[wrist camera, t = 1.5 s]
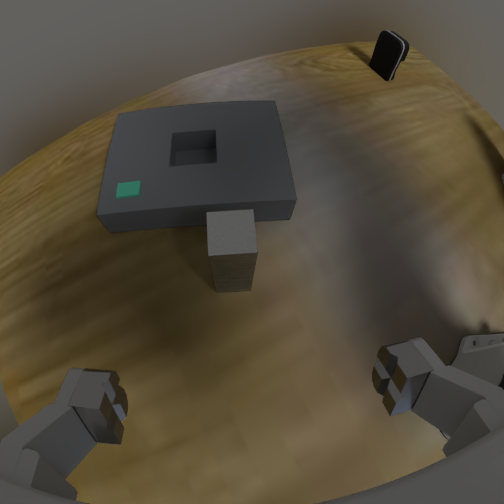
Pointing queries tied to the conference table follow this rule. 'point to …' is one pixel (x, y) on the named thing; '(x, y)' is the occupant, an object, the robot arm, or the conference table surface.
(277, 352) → the conference table surface
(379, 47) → the battery charger
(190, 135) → the docking mount
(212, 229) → the peg
